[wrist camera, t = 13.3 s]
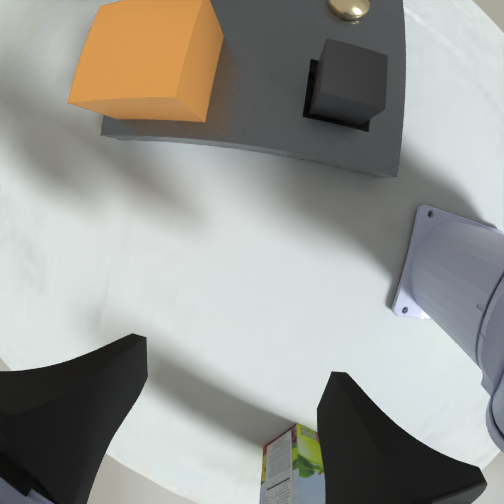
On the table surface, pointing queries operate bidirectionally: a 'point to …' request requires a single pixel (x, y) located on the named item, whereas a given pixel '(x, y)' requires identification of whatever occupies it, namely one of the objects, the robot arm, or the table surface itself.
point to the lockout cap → (149, 60)
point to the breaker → (349, 83)
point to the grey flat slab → (291, 84)
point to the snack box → (293, 469)
